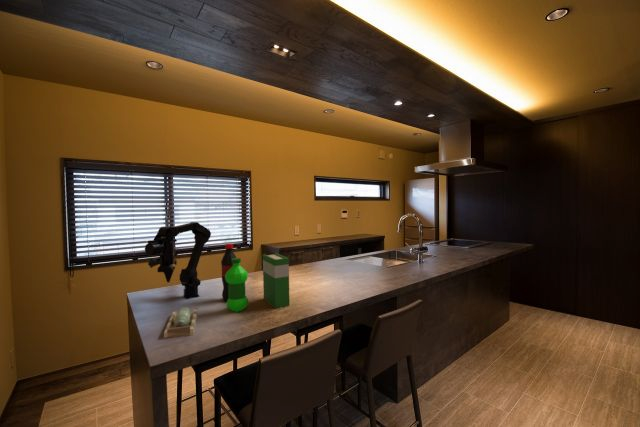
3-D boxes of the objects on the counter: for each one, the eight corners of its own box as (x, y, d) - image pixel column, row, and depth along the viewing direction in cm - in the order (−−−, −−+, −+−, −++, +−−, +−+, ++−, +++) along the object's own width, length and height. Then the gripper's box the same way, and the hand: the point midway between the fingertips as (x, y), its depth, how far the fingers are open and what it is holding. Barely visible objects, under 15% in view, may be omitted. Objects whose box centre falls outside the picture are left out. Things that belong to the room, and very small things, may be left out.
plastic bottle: (225, 308, 144) (223, 257, 143) (246, 305, 148) (245, 256, 147) (227, 315, 135) (225, 261, 134) (250, 311, 139) (249, 259, 138)
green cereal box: (263, 298, 158) (262, 254, 157) (276, 296, 162) (275, 253, 161) (275, 308, 143) (274, 259, 142) (289, 305, 146) (288, 258, 145)
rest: (173, 316, 134) (173, 308, 134) (198, 313, 138) (197, 306, 138) (164, 339, 112) (163, 330, 112) (193, 335, 115) (193, 326, 115)
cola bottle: (241, 297, 159) (240, 243, 158) (232, 302, 152) (230, 245, 150) (228, 296, 162) (227, 242, 161) (218, 301, 154) (217, 244, 153)
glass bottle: (187, 304, 130) (184, 316, 117) (193, 315, 131) (190, 328, 118) (174, 310, 128) (170, 323, 115) (180, 321, 129) (176, 335, 116)
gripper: (153, 249, 154) (154, 279, 155) (144, 255, 137) (145, 288, 137) (176, 248, 158) (177, 277, 158) (171, 254, 140) (172, 286, 141)
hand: (168, 282), depth 149 cm, fingers closed
